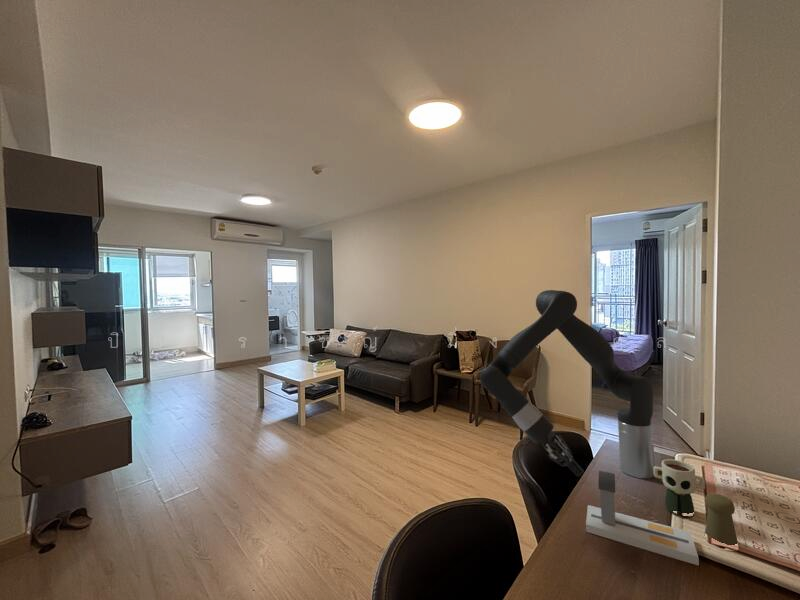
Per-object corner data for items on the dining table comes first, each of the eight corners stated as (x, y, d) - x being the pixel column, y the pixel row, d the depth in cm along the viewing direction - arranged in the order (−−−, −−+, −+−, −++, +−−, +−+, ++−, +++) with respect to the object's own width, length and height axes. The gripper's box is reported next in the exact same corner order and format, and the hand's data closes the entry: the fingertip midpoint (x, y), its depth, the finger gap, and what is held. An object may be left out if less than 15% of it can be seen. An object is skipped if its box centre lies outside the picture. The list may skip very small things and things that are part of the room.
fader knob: (600, 523, 85) (598, 481, 85) (600, 510, 90) (599, 470, 90) (617, 528, 83) (614, 485, 83) (616, 514, 88) (614, 473, 88)
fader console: (586, 531, 85) (585, 523, 85) (588, 511, 93) (587, 504, 93) (698, 565, 73) (698, 556, 73) (690, 539, 81) (690, 531, 81)
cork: (746, 552, 76) (744, 505, 76) (716, 550, 77) (714, 503, 77) (726, 534, 82) (724, 490, 82) (698, 531, 83) (696, 488, 83)
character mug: (654, 510, 92) (652, 464, 92) (655, 498, 97) (653, 454, 97) (707, 526, 85) (705, 477, 85) (705, 512, 90) (703, 465, 90)
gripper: (537, 421, 89) (590, 478, 82) (545, 407, 100) (593, 456, 93) (517, 437, 92) (568, 493, 85) (527, 421, 103) (572, 470, 96)
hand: (581, 473), depth 89 cm, fingers closed
